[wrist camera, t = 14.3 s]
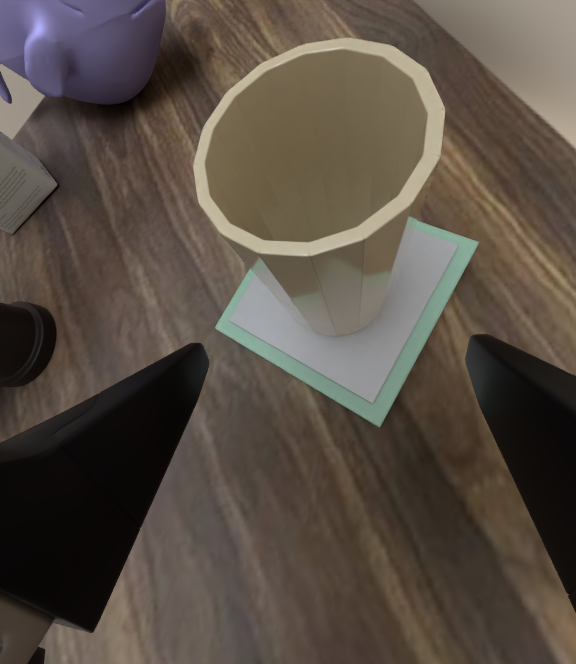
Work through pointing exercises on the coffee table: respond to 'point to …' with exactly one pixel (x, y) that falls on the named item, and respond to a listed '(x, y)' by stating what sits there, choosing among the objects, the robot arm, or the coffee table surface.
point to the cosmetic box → (20, 184)
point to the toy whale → (81, 46)
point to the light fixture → (24, 342)
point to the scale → (366, 344)
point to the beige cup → (323, 175)
